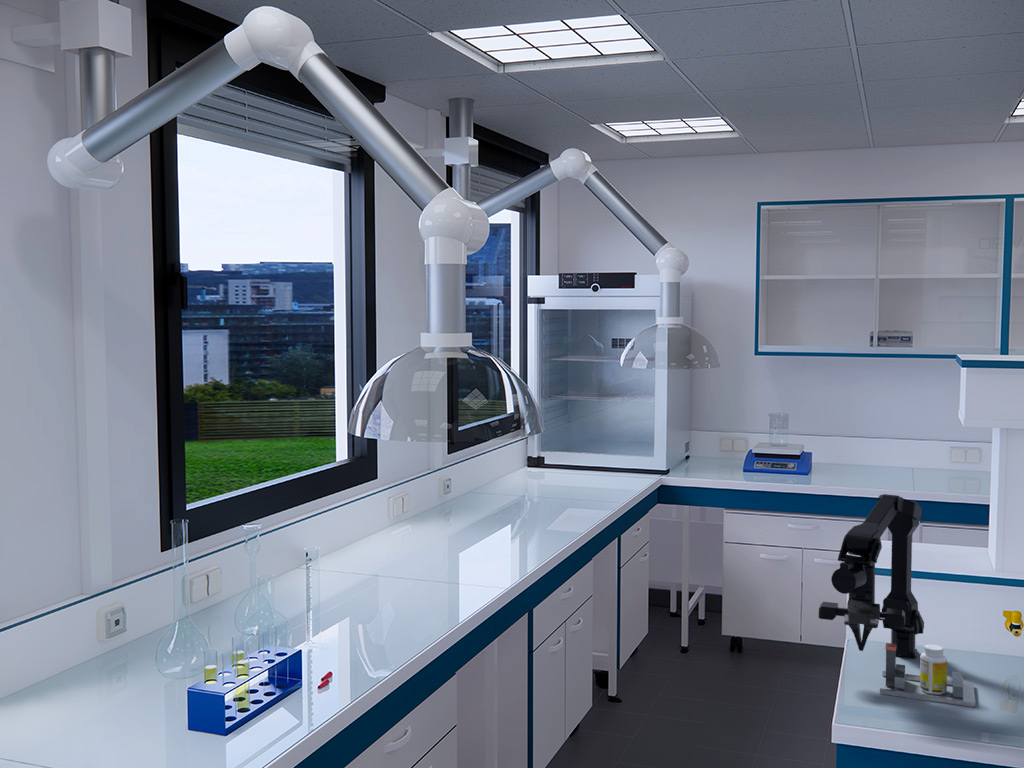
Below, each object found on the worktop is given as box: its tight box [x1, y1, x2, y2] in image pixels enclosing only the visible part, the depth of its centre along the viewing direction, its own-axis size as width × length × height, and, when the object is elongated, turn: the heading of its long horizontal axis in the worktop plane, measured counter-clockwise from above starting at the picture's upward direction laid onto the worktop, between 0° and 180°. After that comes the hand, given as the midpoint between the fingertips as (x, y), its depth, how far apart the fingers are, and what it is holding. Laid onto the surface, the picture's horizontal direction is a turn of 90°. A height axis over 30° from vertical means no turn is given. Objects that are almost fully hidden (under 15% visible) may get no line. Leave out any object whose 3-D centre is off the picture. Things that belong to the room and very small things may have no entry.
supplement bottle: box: [919, 644, 948, 696], centre depth 211 cm, size 6×6×10 cm
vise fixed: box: [879, 670, 976, 708], centre depth 212 cm, size 13×19×4 cm
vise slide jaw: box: [885, 642, 906, 691], centre depth 215 cm, size 9×4×9 cm, turn 156°
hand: (861, 650), depth 218 cm, fingers closed
